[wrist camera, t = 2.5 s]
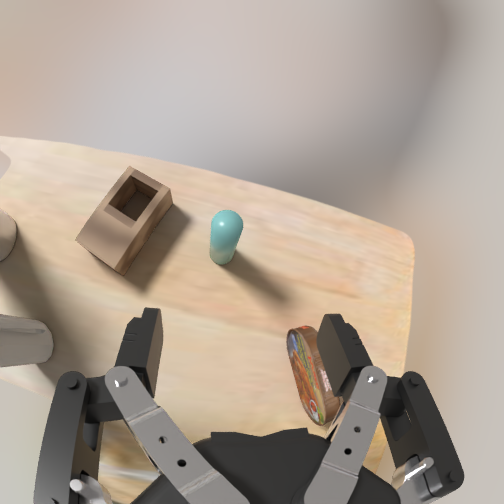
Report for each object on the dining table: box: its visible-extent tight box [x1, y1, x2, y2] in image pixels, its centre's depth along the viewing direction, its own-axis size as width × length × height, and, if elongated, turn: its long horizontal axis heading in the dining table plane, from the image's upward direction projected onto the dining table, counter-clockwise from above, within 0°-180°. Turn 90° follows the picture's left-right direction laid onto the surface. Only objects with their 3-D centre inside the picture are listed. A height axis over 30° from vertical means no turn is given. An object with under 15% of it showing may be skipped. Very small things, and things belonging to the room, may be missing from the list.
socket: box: [75, 166, 173, 276], centre depth 40 cm, size 14×8×5 cm, turn 151°
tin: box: [287, 326, 340, 426], centre depth 37 cm, size 15×3×8 cm, turn 15°
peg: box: [210, 210, 243, 265], centre depth 38 cm, size 4×4×12 cm
